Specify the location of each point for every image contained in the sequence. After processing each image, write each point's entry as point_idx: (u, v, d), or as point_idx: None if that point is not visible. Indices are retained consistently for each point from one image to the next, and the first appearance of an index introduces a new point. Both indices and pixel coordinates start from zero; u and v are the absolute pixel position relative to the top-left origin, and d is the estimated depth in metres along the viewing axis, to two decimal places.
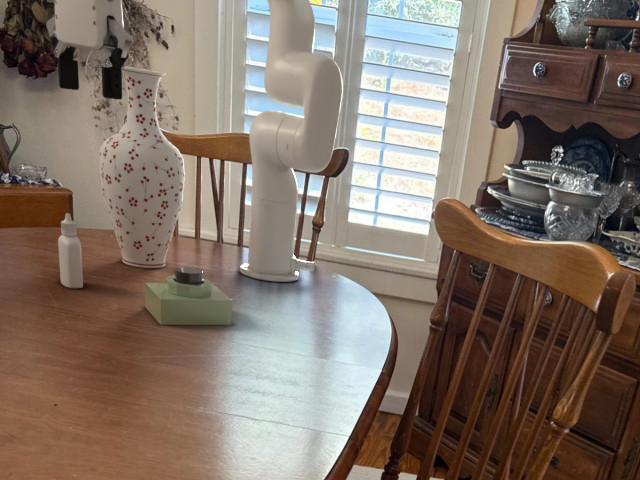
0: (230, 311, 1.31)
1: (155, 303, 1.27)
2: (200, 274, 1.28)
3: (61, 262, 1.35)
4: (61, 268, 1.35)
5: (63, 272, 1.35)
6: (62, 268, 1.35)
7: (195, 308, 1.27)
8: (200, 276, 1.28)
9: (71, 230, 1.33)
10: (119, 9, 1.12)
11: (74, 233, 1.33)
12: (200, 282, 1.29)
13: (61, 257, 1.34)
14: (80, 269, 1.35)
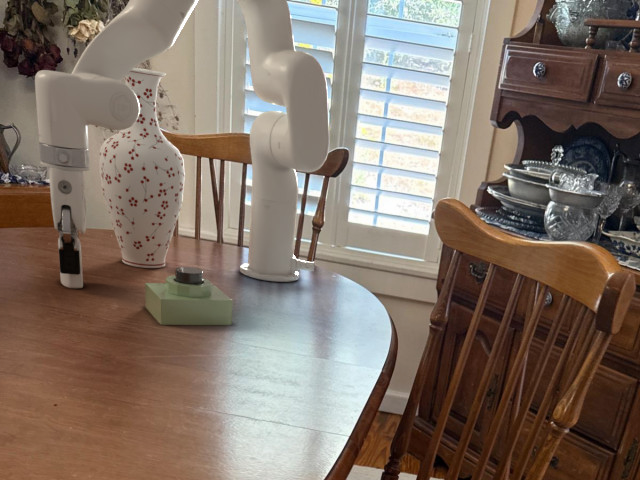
0: (230, 311, 1.31)
1: (155, 303, 1.27)
2: (200, 274, 1.28)
3: None
4: None
5: None
6: None
7: (195, 308, 1.27)
8: (200, 276, 1.28)
9: (71, 230, 1.33)
10: (77, 199, 1.27)
11: None
12: (200, 282, 1.29)
13: None
14: (80, 269, 1.35)
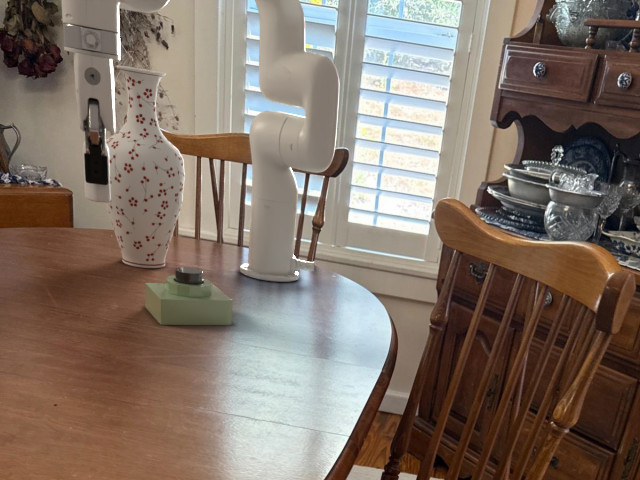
0: (230, 311, 1.31)
1: (155, 303, 1.27)
2: (200, 274, 1.28)
3: None
4: None
5: (88, 183, 1.17)
6: None
7: (195, 308, 1.27)
8: (200, 276, 1.28)
9: None
10: (106, 91, 1.09)
11: None
12: (200, 282, 1.29)
13: None
14: (108, 179, 1.17)
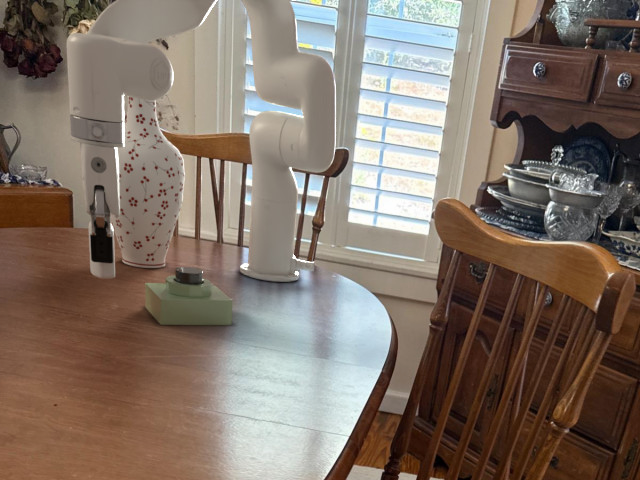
0: (230, 311, 1.31)
1: (155, 303, 1.27)
2: (200, 274, 1.28)
3: None
4: None
5: None
6: None
7: (195, 308, 1.27)
8: (200, 276, 1.28)
9: None
10: (111, 178, 1.14)
11: None
12: (200, 282, 1.29)
13: None
14: None
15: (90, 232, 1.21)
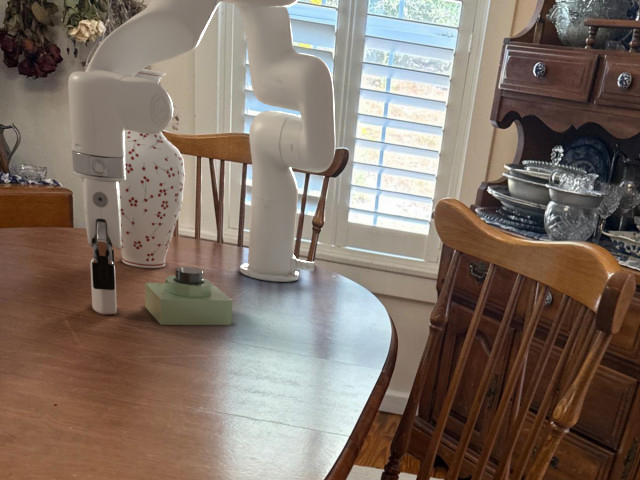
0: (230, 311, 1.31)
1: (155, 303, 1.27)
2: (200, 274, 1.28)
3: None
4: (93, 293, 1.25)
5: (95, 297, 1.25)
6: (94, 293, 1.25)
7: (195, 308, 1.27)
8: (200, 276, 1.28)
9: None
10: (113, 212, 1.17)
11: None
12: (200, 282, 1.29)
13: None
14: (114, 294, 1.25)
15: None
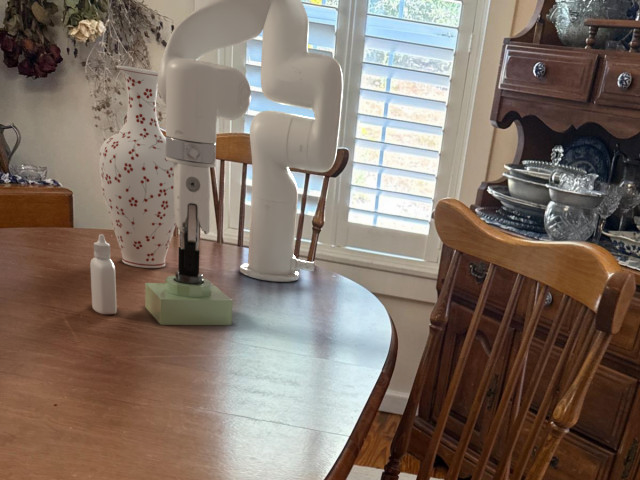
0: (230, 311, 1.31)
1: (155, 303, 1.27)
2: (200, 277, 1.29)
3: (93, 286, 1.25)
4: (93, 293, 1.25)
5: (95, 297, 1.25)
6: (94, 293, 1.25)
7: (195, 308, 1.27)
8: (200, 279, 1.29)
9: (105, 252, 1.23)
10: (204, 197, 1.19)
11: (108, 255, 1.23)
12: None
13: (93, 281, 1.24)
14: (114, 294, 1.25)
15: (92, 270, 1.24)
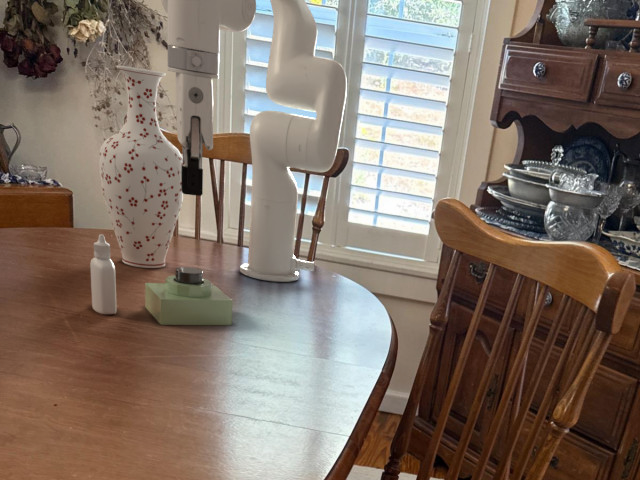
0: (230, 311, 1.31)
1: (155, 303, 1.27)
2: (200, 274, 1.28)
3: (93, 286, 1.25)
4: (93, 293, 1.25)
5: (95, 297, 1.25)
6: (94, 293, 1.25)
7: (195, 308, 1.27)
8: (200, 276, 1.28)
9: (105, 252, 1.23)
10: (207, 109, 1.16)
11: (108, 255, 1.23)
12: (200, 282, 1.29)
13: (93, 281, 1.24)
14: (114, 294, 1.25)
15: (92, 270, 1.24)
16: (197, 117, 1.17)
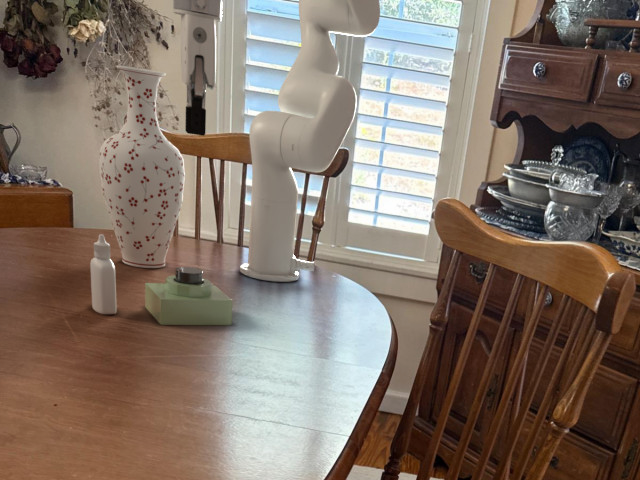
0: (230, 311, 1.31)
1: (155, 303, 1.27)
2: (200, 274, 1.28)
3: (93, 286, 1.25)
4: (93, 293, 1.25)
5: (95, 297, 1.25)
6: (94, 293, 1.25)
7: (195, 308, 1.27)
8: (200, 276, 1.28)
9: (105, 252, 1.23)
10: (211, 49, 1.23)
11: (108, 255, 1.23)
12: (200, 282, 1.29)
13: (93, 281, 1.24)
14: (114, 294, 1.25)
15: (92, 270, 1.24)
16: (201, 57, 1.24)
